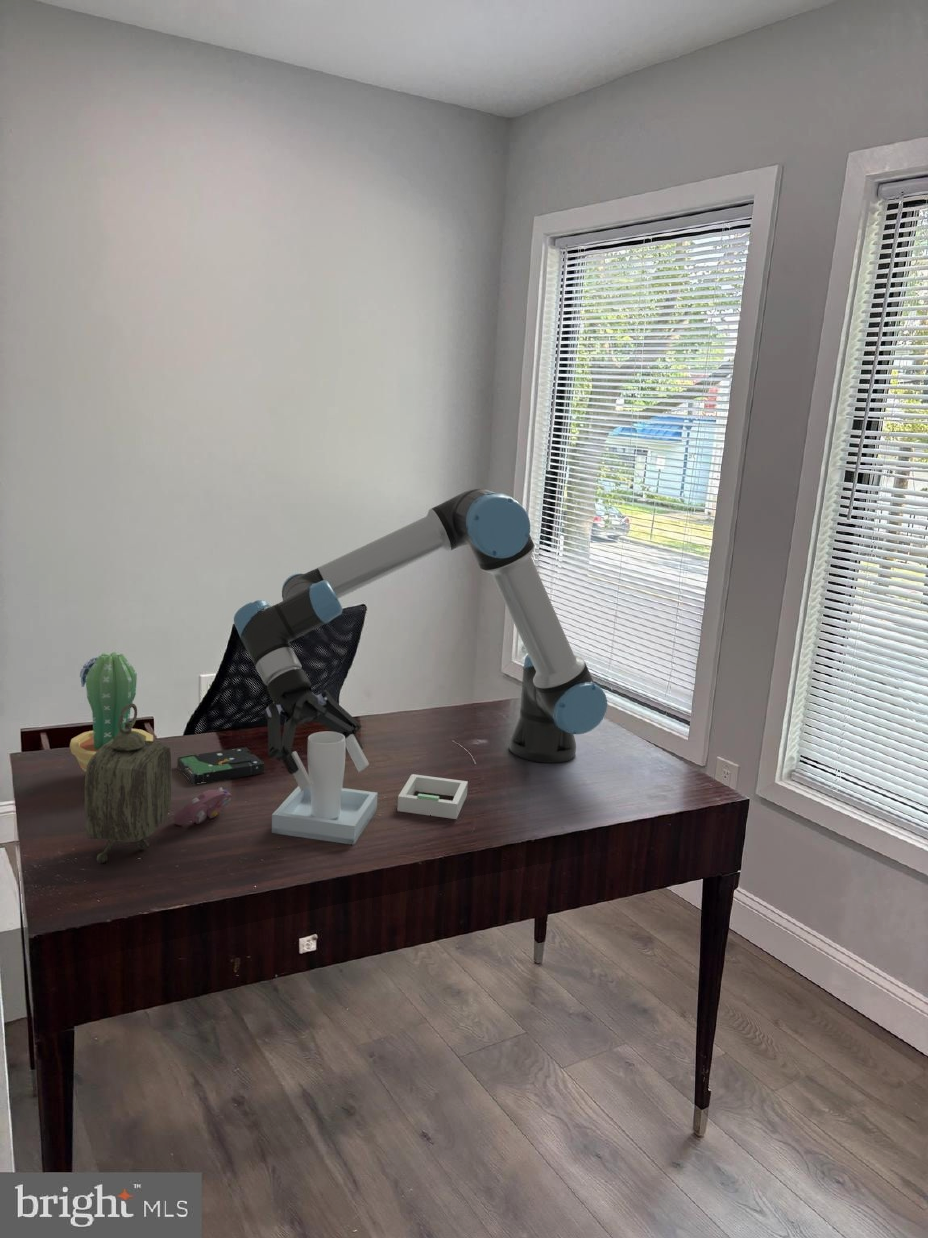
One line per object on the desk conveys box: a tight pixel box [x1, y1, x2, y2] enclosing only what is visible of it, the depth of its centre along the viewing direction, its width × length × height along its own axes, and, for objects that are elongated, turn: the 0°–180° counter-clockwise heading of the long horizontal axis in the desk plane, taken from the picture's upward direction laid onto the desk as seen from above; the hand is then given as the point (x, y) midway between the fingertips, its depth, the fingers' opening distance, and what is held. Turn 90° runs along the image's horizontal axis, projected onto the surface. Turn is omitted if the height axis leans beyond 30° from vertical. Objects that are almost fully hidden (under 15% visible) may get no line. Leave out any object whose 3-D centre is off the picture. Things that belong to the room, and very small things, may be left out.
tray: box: [271, 785, 379, 846], centre depth 168 cm, size 15×15×4 cm
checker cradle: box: [396, 773, 469, 820], centre depth 179 cm, size 11×11×4 cm
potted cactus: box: [69, 652, 154, 774], centre depth 177 cm, size 15×16×25 cm
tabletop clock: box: [84, 702, 172, 864], centre depth 151 cm, size 14×9×25 cm, turn 178°
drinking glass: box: [306, 730, 347, 820], centre depth 167 cm, size 7×7×15 cm
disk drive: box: [177, 746, 265, 785], centre depth 188 cm, size 10×3×15 cm
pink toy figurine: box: [173, 786, 233, 826], centre depth 165 cm, size 10×5×7 cm, turn 149°
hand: (336, 777), depth 165 cm, fingers open, 13 cm apart
